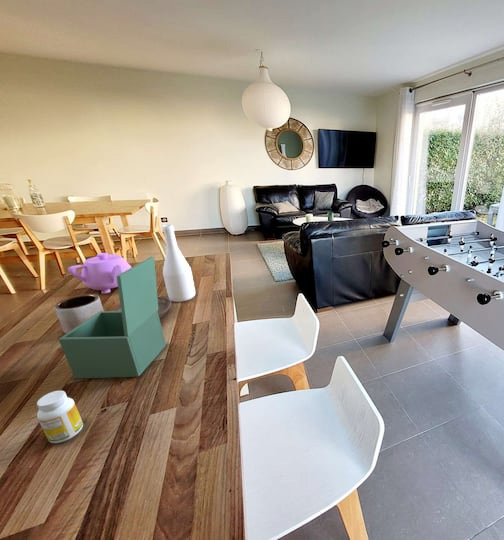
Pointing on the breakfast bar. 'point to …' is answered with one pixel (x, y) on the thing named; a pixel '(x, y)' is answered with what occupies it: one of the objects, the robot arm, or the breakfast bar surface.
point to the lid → (137, 294)
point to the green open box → (112, 346)
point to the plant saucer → (162, 306)
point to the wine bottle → (176, 270)
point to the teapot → (101, 271)
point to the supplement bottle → (58, 416)
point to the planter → (77, 310)
